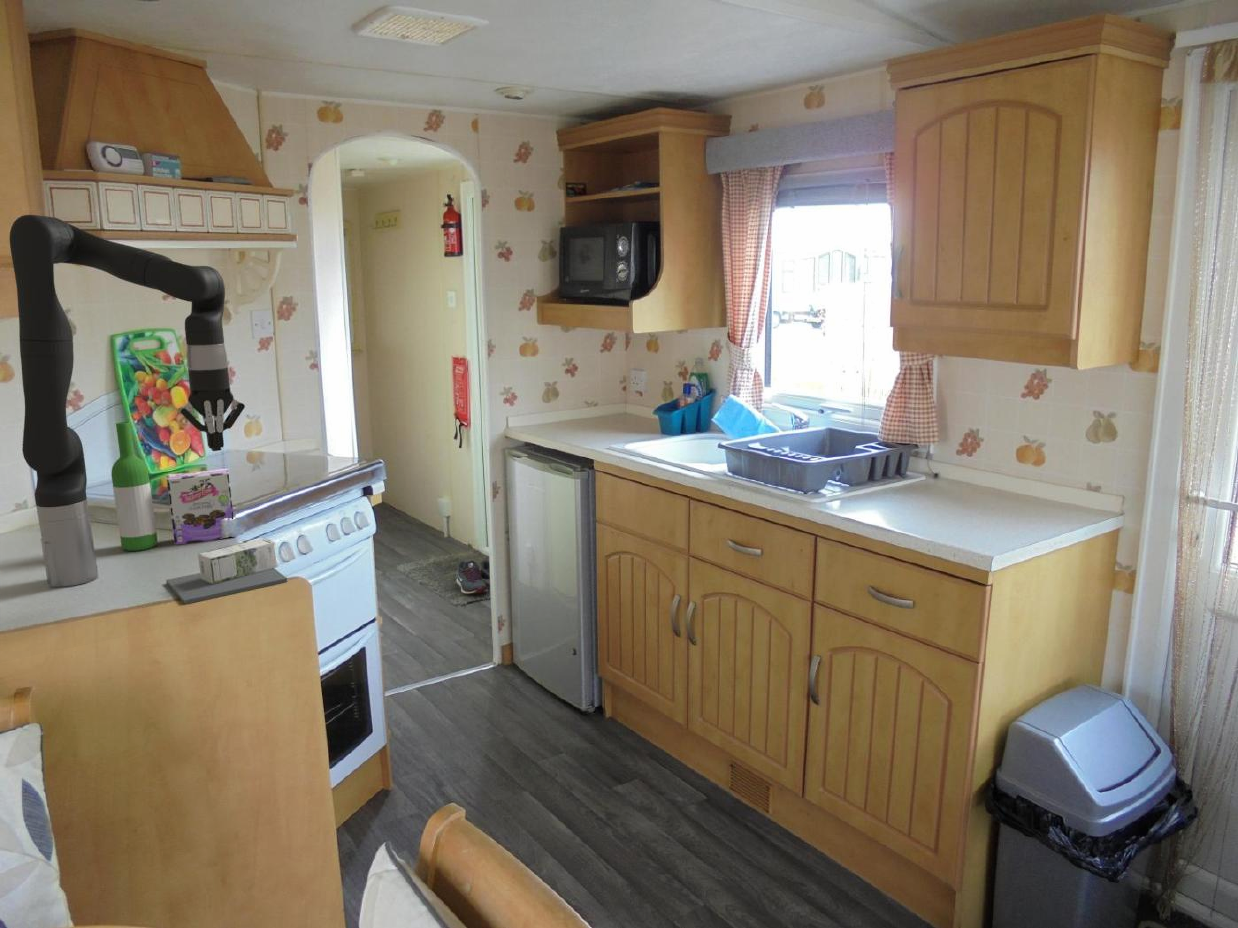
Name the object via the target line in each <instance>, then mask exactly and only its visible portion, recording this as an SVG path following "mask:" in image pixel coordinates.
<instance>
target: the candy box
mask: <svg viewBox="0 0 1238 928" xmlns="http://www.w3.org/2000/svg"><path fill="white" fill-rule="evenodd" d="M166 476H167V477H166V482H167V493H168V502H169V511H170V520H171V525H172V533H173V540H174V545H175V546H177V545H186V544H194V543H201V542H208V541H217V540H221V539H220V538H222V537H223V536H222V533H221V531H222V530H221V528H220V527H221V526H222V525H221V523H220V522H222V521H221V520H222V519H224V518H227V517H228V518H232V519H233V517H234V518H235V516H234V510H233V509H234V508H233V499H232V490H231V480H230V479H231V478H230V472H229V468H222V469H221V468H220V469H212V470H211V469H210V470H202V471H192V472H191V471H190V472H183V473H170V474H168V473H167V475H166Z"/></svg>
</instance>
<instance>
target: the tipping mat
mask: <svg viewBox="0 0 1238 928" xmlns="http://www.w3.org/2000/svg"><path fill="white" fill-rule="evenodd" d="M275 568H276V567H275ZM275 568H272V569H268V570H264V571H261V572H257V573H253V574H249V575H245V576H242V577H238V578H235V579H231V580H227V581H223V582H220V583H216V584H212V583H209V582H207V581H204V580H202V579H201V577H200V576H201V574H200V572H198V573H194V574H188V575H183V576H179V577H174V578H169V579H166V585H167V586H168V587H169V588H170V589H171V590H172V592H173V593H174V594H175V595H176V596H177V597H178V599H180V601H181V602H182V603H183V604H184V605H188V604H193V603H197V602H201V601H203V602H204V601H206V600H211V599H215V598H216V599H217V598H220V597H225V596H229V595H234V594H238V593H242V592H247V591H252V590H256V589H261V588H266V587H270V586H274V585H279V584H284V583H288V578H287V576H285V575H283V573H281V572H280V571H278V570H277V569H275Z"/></svg>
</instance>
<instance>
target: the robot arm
mask: <svg viewBox="0 0 1238 928" xmlns="http://www.w3.org/2000/svg"><path fill="white" fill-rule="evenodd" d="M9 248H10V254H11V261H12V266H13V272H14V279H15V285H16V292H17V295H16V296H17V309H18V325H19V326H18V328H19V331H18V332H19V333H18V334H19V336H18V337H19V353H20V363H21V378H22V389H23V390H22V391H23V400H24V422H23V434H22V455H23V458H24V461H25V462H26V464H27V466H28V467H29V468H30V469H32V470H33V471H35V472H36V478H37V479H36V488H35V490H34V499H35V500H34V501H35V506H36V513H37V518H38V524H39V531H40V537H41V538H40V542H41V543H40V544H41V550H42V555H43V556H42V557H43V561H44V568H45V573H46V581H47V583H48V584H49V586H50V588H51V589H52V588H57V587H58V588H59V587H71V586H76V585H82V584H86V583H89V582H91V581H93V580H95V579H97V578H98V577H99V571H98V564H97V557H96V550H95V545H94V538H93V537H94V536H93V530H92V525H91V524H92V523H91V517H90V511H89V505H88V498H87V485H88V484H87V483H88V481H87V480H88V479H87V478H88V477H87V469H86V462H85V461H86V460H85V453H84V447H83V444H82V439H81V438H80V436H79V434H78V433H77V432H76V431H75V430H74V429H73V428H72V427H70V426H68V420H67V418H68V417H67V401H68V400H67V399H68V396H69V395H68V394H69V390H70V388H71V387H70V385H71V382H72V381H71V380H72V376H73V372H74V371H73V370H74V358H75V357H74V355H75V354H74V337H73V336H74V335H73V330H72V325H71V323H70V321H69V318H68V317H67V315H66V313H65V310H64V308H63V307H62V304H61V303H60V300H59V298H58V295H57V292H56V291H57V290H56V287H55V286H56V285H55V271H54V270H55V268H54V264H70V265H77V266H78V265H79V266H86V267H90V268H93V269H97V270H101V271H103V272H104V273H108V274H109V275H111V276H113V277H116V278H117V279H120V280H123V281H124V282H128V283H131V284H134V285H139V286H142V287H145V288H148V289H152V290H157V291H160V292H161V293H164V294H166V295H168V296H171V297H173V298H175V299H179V300H181V301H184V302H185V301H186V302H189V303H191V312H190V314H189V315H187V317H186V318H185V320H184V334H185V341H186V343H185V345H186V367H187V375H188V384H189V396H188V399H187V400H188V402H187V403H186V404H184V405H183V406H182V407H179V408H178V413H179V414H181V415H182V417H184V419H186V420H187V421H188V422H189V423H190V424H191V425H192V426H193V427H194V428H195V429H196V430H198V431H199V432H203V433H206V440H207V446H208V448H209V449H210V450H211V451H212V452H219V451H220V452H221V451H222V448H224V446H225V443H224V432H225V431H226V430H229V429H231V428H232V427H233V426H234V424H235V423H236V421H237V419H238V418H239V417H240V415H241V414H242V412H243V411H244V409H245V408H246V407H245V406H246V405H245V404H244V403H243V402H240V401H238V400H237V399H234V398H235V397H234V395H233V393H232V391H231V386H230V375H229V364H228V355H227V351H226V350H227V349H226V346H225V339H224V337H225V336H224V328H223V317H224V311H225V310H224V309H225V302H226V301H225V299H226V288H225V282H224V279H223V277H222V275H221V273H220V271H218V270H217V269H215V268H214V267H212V266H209V265H189V264H184V263H181V262H177V261H174V260H172V258H170V257H168V256H166V255H162V254H160V253H156V252H153V251H149V250H147V249H143V248H139V247H135V246H131V245H127V244H123V243H119V242H115V241H111V240H108V239H105V238H102V237H100V236H97V235H94V234H92V233H89V232H87V231H85V230H83V229H81V228H79V227H77V226H75V225H72V224H70V223H68V222H66V221H64V220H62V219H60V218H57V217H55V216H53V217H52V216H48V215H47V216H45V215H37V214H24V215H22V216H19V217H18V218H16V219H15V220H14V222H13V223H12V225H11V227H10V231H9ZM229 407H230V409H231V411H230V412H229V414H228V415H227V416H226V418H225V419H224V417H225V416H224V414H225V413H226V412H227V410H228V409H229ZM193 409H194V410H195V411H196V412H197V413H198V414H199V415H200V416H202V419H203V423H204V424H202V423H201V422H200V421H199V420H198V419H197V418H196V417H195V416H194V415H193V414H194V410H193Z"/></svg>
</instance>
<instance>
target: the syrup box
mask: <svg viewBox="0 0 1238 928" xmlns="http://www.w3.org/2000/svg"><path fill="white" fill-rule="evenodd" d="M275 545H276V544H275V541H273V540H270V539H268V538H264V537H258V538H255V539H251V540H247V541H243V542H240V543H239V542H238V543H236V544H231V545H227V546H222V547H218V548H214V549H211V550H205V551H201V552H198V553H197V558H198V565H199V573H200V574H201V576H200V577H201V579H202V580H204V581H207V582H209V583H212V584H216V583H220V582H223V581H227V580H231V579H235V578H238V577H242V576H245V575H249V574H253V573H257V572H261V571H264V570H268V569H272V568H277V567H278V564H277V559H276V557H277V556H276V547H275Z"/></svg>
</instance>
